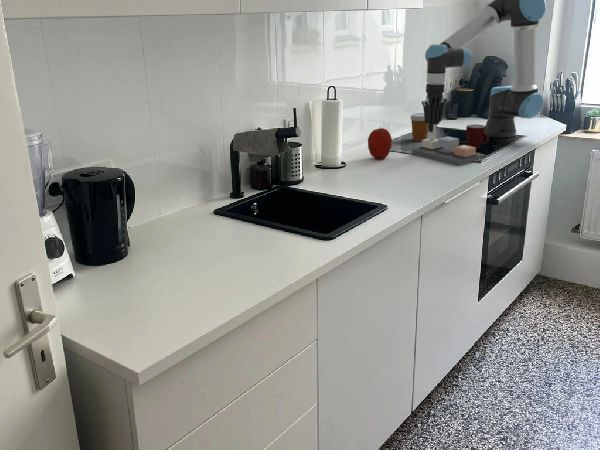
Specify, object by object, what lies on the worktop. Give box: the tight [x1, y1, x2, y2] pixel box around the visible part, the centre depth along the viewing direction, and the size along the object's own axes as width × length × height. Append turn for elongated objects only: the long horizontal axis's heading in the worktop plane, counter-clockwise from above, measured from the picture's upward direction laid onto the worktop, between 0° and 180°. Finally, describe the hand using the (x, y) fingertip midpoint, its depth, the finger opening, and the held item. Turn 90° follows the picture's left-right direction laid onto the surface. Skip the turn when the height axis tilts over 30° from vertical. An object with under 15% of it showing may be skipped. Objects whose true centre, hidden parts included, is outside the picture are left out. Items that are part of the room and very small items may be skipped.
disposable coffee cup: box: [410, 112, 429, 142], centre depth 279 cm, size 10×10×12 cm
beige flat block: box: [454, 144, 477, 157], centre depth 243 cm, size 6×6×3 cm
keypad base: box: [411, 145, 486, 167], centre depth 251 cm, size 16×26×3 cm, turn 35°
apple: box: [367, 126, 393, 160], centre depth 248 cm, size 10×10×14 cm
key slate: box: [437, 136, 460, 148], centre depth 249 cm, size 6×6×3 cm
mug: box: [465, 123, 490, 150], centre depth 261 cm, size 10×8×10 cm
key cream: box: [421, 138, 442, 149], centre depth 256 cm, size 6×6×3 cm
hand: (432, 138), depth 256 cm, fingers closed
